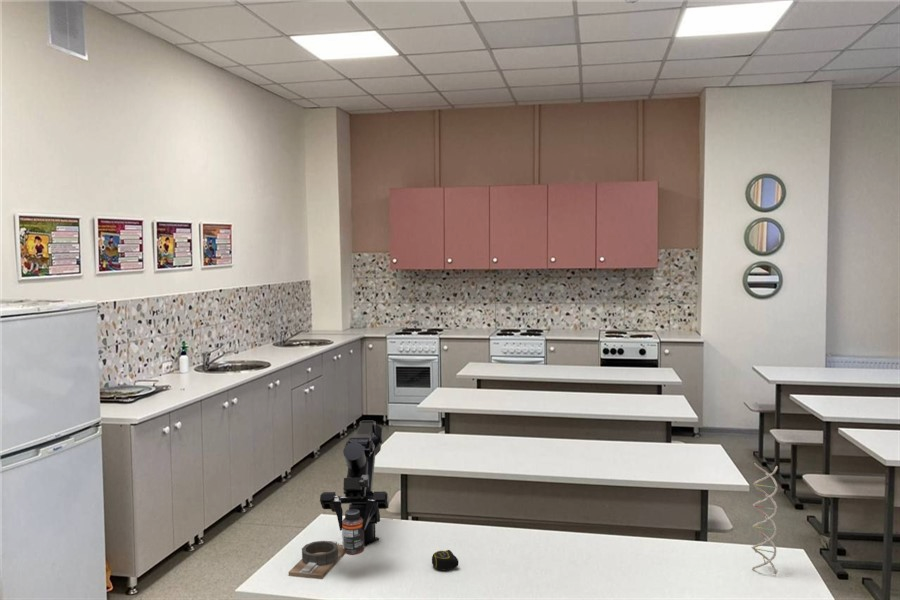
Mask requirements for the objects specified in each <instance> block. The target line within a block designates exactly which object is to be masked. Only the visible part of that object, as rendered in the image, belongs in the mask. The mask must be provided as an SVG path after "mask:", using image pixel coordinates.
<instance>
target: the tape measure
mask: <svg viewBox="0 0 900 600" xmlns="http://www.w3.org/2000/svg"><path fill="white" fill-rule="evenodd" d="M431 564H432V566H433V568H435V569H437V570H439V571H447V570H448V571H449V570H451V569H452V570H453V569H455V568H457V567H458V566H459V559H458V558H457V557H456V556H455V554H454V553H453V552H452V551H451V550H450V549H447V550H437V551H435V552H434V553H433V554H432V556H431Z"/></svg>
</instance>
